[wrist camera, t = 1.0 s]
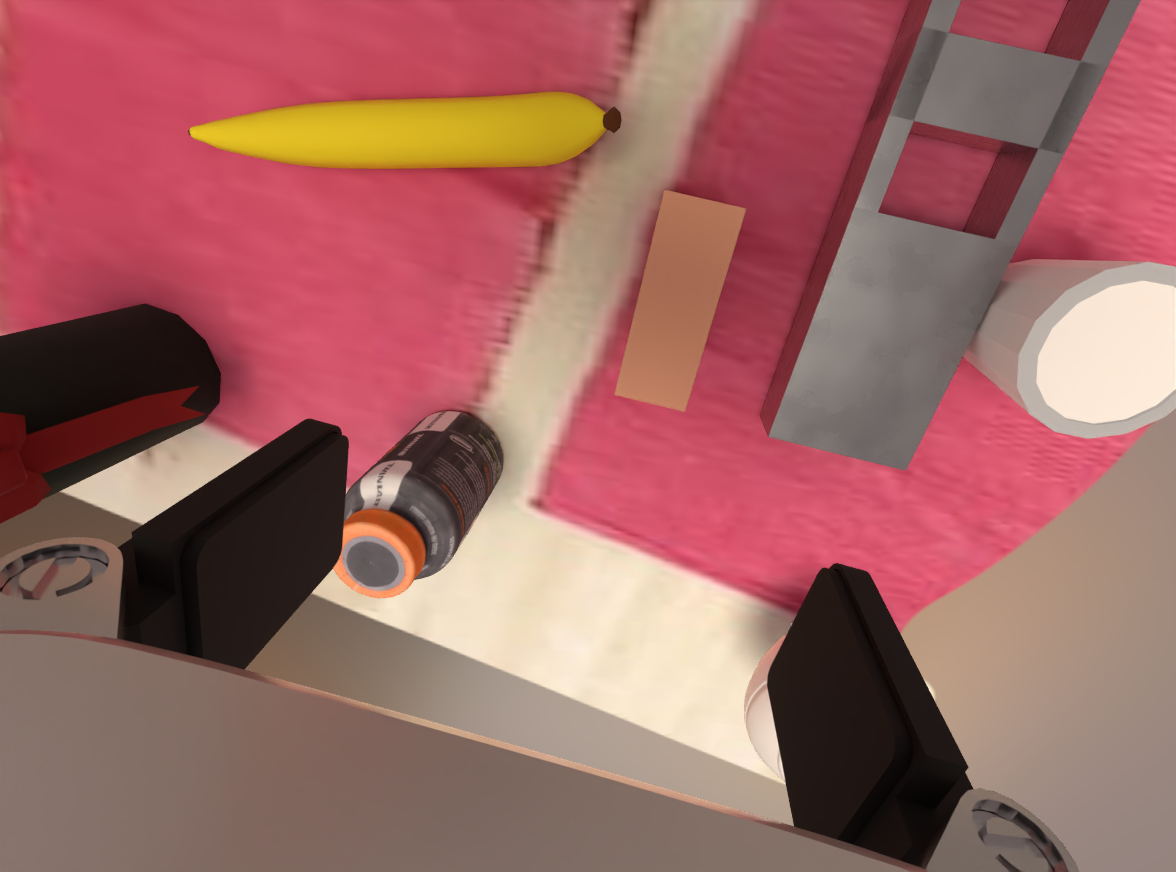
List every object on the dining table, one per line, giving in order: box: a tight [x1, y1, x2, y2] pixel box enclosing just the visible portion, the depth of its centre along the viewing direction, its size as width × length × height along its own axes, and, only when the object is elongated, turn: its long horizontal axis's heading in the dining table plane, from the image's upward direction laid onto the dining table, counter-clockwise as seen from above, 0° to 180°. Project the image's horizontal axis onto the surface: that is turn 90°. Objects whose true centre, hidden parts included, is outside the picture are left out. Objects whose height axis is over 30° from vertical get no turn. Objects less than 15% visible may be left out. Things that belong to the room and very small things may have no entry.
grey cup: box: [963, 259, 1176, 439], centre depth 25 cm, size 7×7×7 cm
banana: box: [188, 91, 621, 169], centre depth 25 cm, size 3×19×6 cm, turn 90°
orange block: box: [614, 190, 746, 412], centre depth 26 cm, size 8×3×8 cm, turn 168°
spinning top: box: [744, 622, 793, 781], centre depth 31 cm, size 8×8×12 cm
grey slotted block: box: [760, 0, 1141, 471], centre depth 26 cm, size 22×7×3 cm, turn 168°
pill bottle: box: [333, 411, 503, 598], centre depth 30 cm, size 6×6×11 cm
